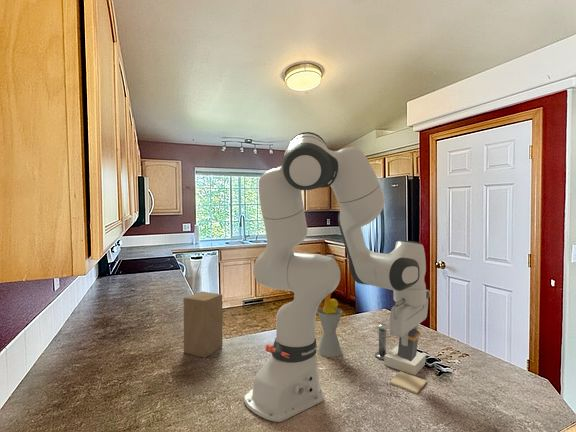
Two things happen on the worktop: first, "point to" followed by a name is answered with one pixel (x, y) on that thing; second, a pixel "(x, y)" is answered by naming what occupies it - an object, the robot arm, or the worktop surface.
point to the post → (381, 345)
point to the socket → (404, 362)
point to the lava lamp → (329, 326)
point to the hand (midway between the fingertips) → (409, 341)
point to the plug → (409, 346)
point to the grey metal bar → (383, 325)
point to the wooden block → (202, 324)
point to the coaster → (408, 382)
